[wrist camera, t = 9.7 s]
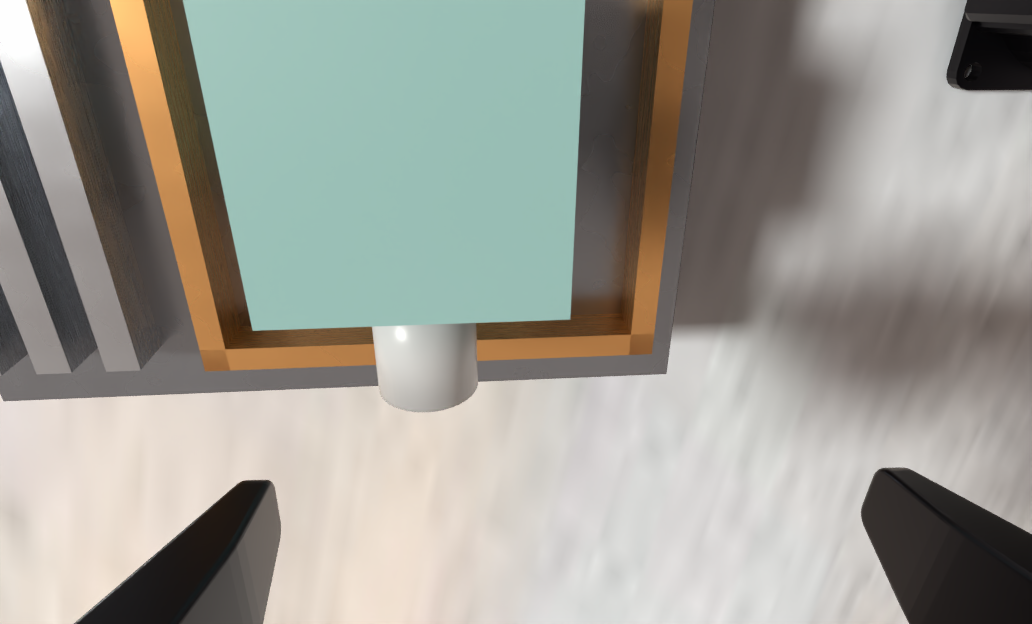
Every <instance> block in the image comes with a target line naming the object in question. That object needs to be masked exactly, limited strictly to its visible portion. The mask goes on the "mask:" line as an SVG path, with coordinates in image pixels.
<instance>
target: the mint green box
mask: <svg viewBox="0 0 1032 624" xmlns="http://www.w3.org/2000/svg"><path fill="white" fill-rule="evenodd" d="M183 3H184V8H185V13H186V18H187V22H188V27H189V32H190V37H191V41H192V46H193V51H194V55H195V60H196V65H197V70H198V74H199V79H200V84H201V89H202V93H203V98H204V103H205V108H206V112H207V117H208V122H209V126H210V131H211V136H212V141H213V145H214V150H215V155H216V160H217V164H218V169H219V174H220V179H221V183H222V188H223V193H224V198H225V202H226V207H227V212H228V216H229V221H230V226H231V231H232V235H233V240H234V245H235V250H236V254H237V259H238V264H239V269H240V273H241V278H242V283H243V287H244V292H245V297H246V302H247V306H248V311H249V316H250V321H251V325H252V330H253V331H261V330H290V329H318V328H346V327H372V332H373V341H374V350H375V359H376V367H377V376H378V385H379V392H380V395H381V397H382V398H383V399H384V400H385V401H386V402H387V403H388V404H390V405H392V406H394V407H396V408H399V409H402V410H406V411H412V412H434V411H440V410H444V409H448V408H451V407H454V406H456V405H459V404H460V403H462V402H464V401H465V400H467V399H468V398H469V397H470V396H471V395H472V394H473V393H474V392H475V390H476V388H477V385H478V370H477V336H476V323H488V322H516V321H544V320H570V316H571V294H572V272H573V251H574V229H575V208H576V186H577V165H578V143H579V122H580V100H581V79H582V57H583V36H584V14H585V0H183Z"/></svg>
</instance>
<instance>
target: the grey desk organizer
mask: <svg viewBox="0 0 1032 624" xmlns="http://www.w3.org/2000/svg"><path fill="white" fill-rule="evenodd" d="M714 4H715V0H585V14H584V36H583V57H582V79H581V100H580V122H579V143H578V165H577V186H576V208H575V229H574V251H573V272H572V294H571V316H570V320H544V321H516V322H488V323H476V336H477V370H478V382H480V381H504V380H529V379H553V378H577V377H601V376H626V375H650V374H666V372H667V364H668V357H669V349H670V341H671V334H672V326H673V318H674V311H675V303H676V295H677V288H678V280H679V272H680V265H681V257H682V249H683V242H684V234H685V227H686V219H687V211H688V204H689V196H690V188H691V181H692V173H693V165H694V158H695V150H696V142H697V135H698V127H699V119H700V112H701V104H702V96H703V89H704V81H705V73H706V66H707V58H708V50H709V43H710V35H711V27H712V20H713V12H714ZM359 386H379V385H378V376H377V367H376V359H375V350H374V341H373V332H372V327H346V328H318V329H290V330H261V331H253V330H252V325H251V321H250V316H249V311H248V306H247V302H246V297H245V292H244V287H243V283H242V278H241V273H240V269H239V264H238V259H237V254H236V250H235V245H234V240H233V235H232V231H231V226H230V221H229V216H228V212H227V207H226V202H225V198H224V193H223V188H222V183H221V179H220V174H219V169H218V164H217V160H216V155H215V150H214V145H213V141H212V136H211V131H210V126H209V122H208V117H207V112H206V108H205V103H204V98H203V93H202V89H201V84H200V79H199V74H198V70H197V65H196V60H195V55H194V51H193V46H192V41H191V37H190V32H189V27H188V22H187V18H186V13H185V8H184V3H183V0H0V394H1V396H2V398H3V401H19V400H44V399H68V398H92V397H116V396H141V395H165V394H189V393H213V392H238V391H262V390H286V389H310V388H335V387H359Z"/></svg>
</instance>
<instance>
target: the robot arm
mask: <svg viewBox="0 0 1032 624" xmlns="http://www.w3.org/2000/svg"><path fill="white" fill-rule="evenodd" d="M970 64H971V65H972V70H971V72H970V74H969V75H968V76H967V77H966V78H965V77H964V74H965V70H966V68H967V67H968V66H969V65H970ZM946 78H947V81H948V83H949V84H950V85H951V86H952V87H955V88H959V89H965V90H1032V0H967V3H966V7H965V12H964V15H963V18H962V22H961V25H960V29H959V32H958V36H957V39H956V42H955V46H954V49H953V53H952V56H951V59H950V63H949V66H948V70H947V77H946ZM861 517H862V522H863V525H864V527H865V530H866V532H867V534H868V536H869V538H870V541H871V543H872V545H873V547H874V549H875V551H876V554H877V556H878V558H879V560H880V562H881V565H882V567H883V569H884V571H885V573H886V576H887V578H888V580H889V582H890V584H891V587H892V589H893V591H894V593H895V595H896V598H897V600H898V602H899V604H900V606H901V608H902V610H903V612H904V614H905V616H906V618H907V620H908V622H909V624H1032V534H1030V533H1028V532H1026V531H1025V530H1023V529H1021V528H1019V527H1017V526H1015V525H1013V524H1012V523H1010V522H1008V521H1006V520H1004V519H1002V518H1000V517H998V516H997V515H995V514H993V513H991V512H989V511H987V510H985V509H983V508H982V507H980V506H978V505H976V504H974V503H972V502H970V501H969V500H967V499H965V498H963V497H961V496H959V495H957V494H955V493H954V492H952V491H950V490H948V489H946V488H944V487H942V486H941V485H939V484H937V483H935V482H933V481H931V480H929V479H927V478H926V477H924V476H922V475H920V474H918V473H916V472H914V471H912V470H910V469H908V468H882V469H879V470H878V471H877V472H876V473H875V474H874V476H873V479H872V482H871V484H870V487H869V489H868V492H867V495H866V497H865V500H864V502H863V505H862V509H861ZM280 535H281V522H280V516H279V510H278V504H277V498H276V492H275V487H274V485H273V483H272V482H271V481H269V480H246V481H242V482H240V483H238V484H237V485H236V486H235V487H233V488H232V489H231V490H230V491H229V492H228V493H226V494H225V495H224V496H223V497H222V498H220V499H219V500H218V501H217V502H216V503H215V504H213V505H212V506H211V507H210V508H209V509H208V510H206V511H205V512H204V513H203V514H202V515H201V516H199V517H198V518H197V519H196V520H195V521H194V522H192V523H191V524H190V525H189V526H188V527H187V528H185V529H184V530H183V531H182V532H181V533H179V534H178V535H177V536H176V537H175V538H174V539H172V540H171V541H170V542H169V543H168V544H167V545H165V546H164V547H163V548H162V549H161V550H160V551H158V552H157V553H156V554H155V555H154V556H153V557H151V558H150V559H149V560H148V561H147V562H146V563H144V564H143V565H142V566H141V567H140V568H138V569H137V570H136V571H135V572H134V573H133V574H131V575H130V576H129V577H128V578H127V579H126V580H124V581H123V582H122V583H121V584H120V585H119V586H117V587H116V588H115V589H114V590H113V591H112V592H110V593H109V594H108V595H107V596H106V597H105V598H103V599H102V600H101V601H100V602H99V603H97V604H96V605H95V606H94V607H93V608H92V609H90V610H89V611H88V612H87V613H86V614H85V615H83V616H82V617H81V618H80V619H79V620H78V621H76V622H75V623H74V624H263V620H264V615H265V611H266V606H267V601H268V596H269V591H270V586H271V581H272V576H273V572H274V567H275V562H276V557H277V552H278V547H279V542H280Z"/></svg>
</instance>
